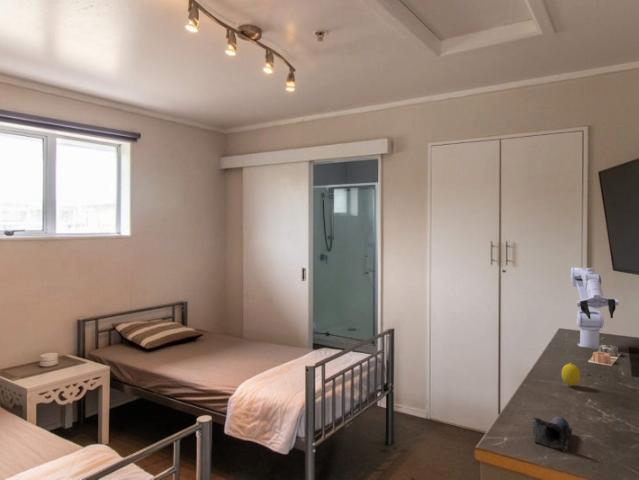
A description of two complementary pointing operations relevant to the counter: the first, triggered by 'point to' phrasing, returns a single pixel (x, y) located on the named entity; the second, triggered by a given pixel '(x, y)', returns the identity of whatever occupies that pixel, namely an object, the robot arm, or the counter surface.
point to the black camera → (552, 433)
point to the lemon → (570, 374)
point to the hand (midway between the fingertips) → (600, 316)
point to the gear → (601, 357)
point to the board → (609, 350)
